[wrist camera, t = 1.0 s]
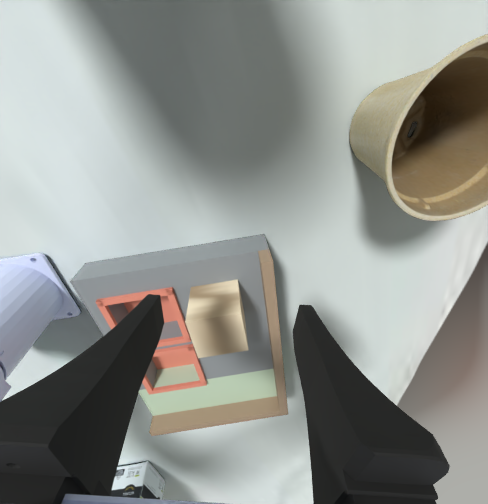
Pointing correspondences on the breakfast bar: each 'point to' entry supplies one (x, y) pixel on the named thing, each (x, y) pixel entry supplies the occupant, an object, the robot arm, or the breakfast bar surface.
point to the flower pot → (431, 135)
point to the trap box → (178, 338)
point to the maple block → (216, 319)
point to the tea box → (138, 482)
